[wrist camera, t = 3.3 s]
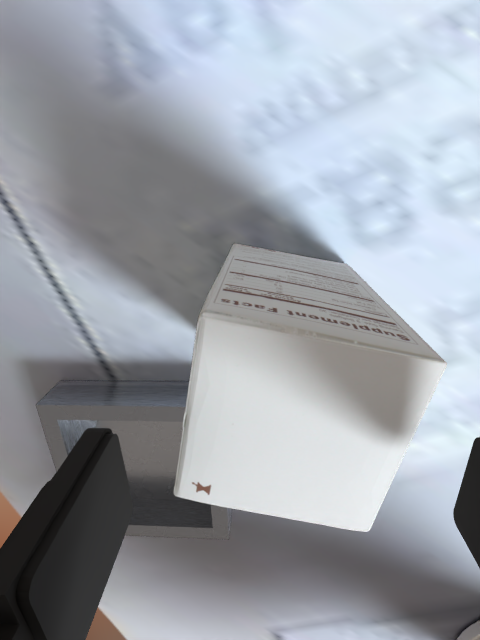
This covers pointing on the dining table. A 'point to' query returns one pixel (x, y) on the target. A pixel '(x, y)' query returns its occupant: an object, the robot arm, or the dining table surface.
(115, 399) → the locating frame
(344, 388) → the supplement box
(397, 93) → the dining table surface
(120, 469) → the robot arm
